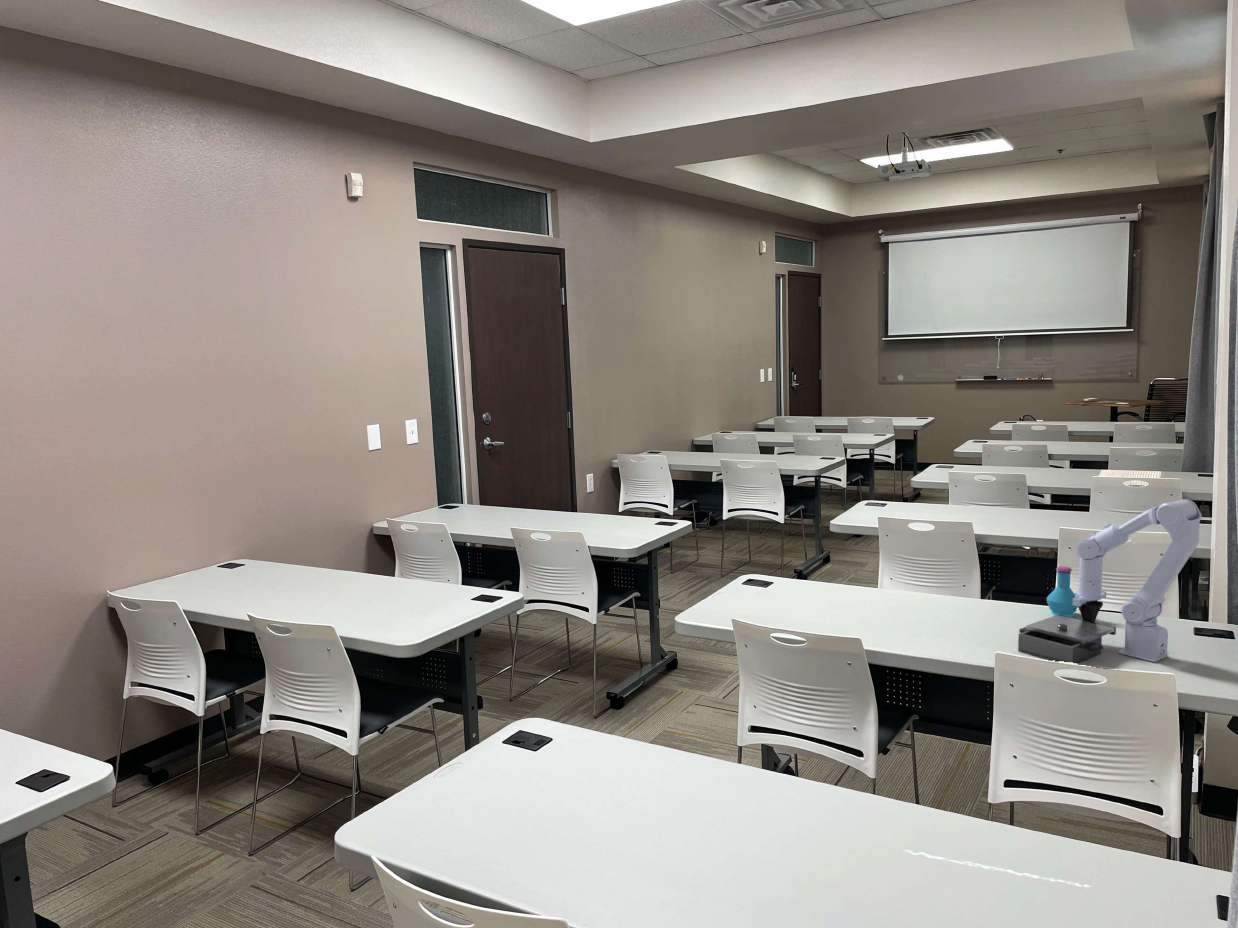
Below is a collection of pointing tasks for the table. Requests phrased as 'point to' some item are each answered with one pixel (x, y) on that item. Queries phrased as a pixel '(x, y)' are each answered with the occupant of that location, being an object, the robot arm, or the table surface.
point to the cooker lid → (1071, 628)
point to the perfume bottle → (1062, 594)
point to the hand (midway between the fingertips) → (1088, 626)
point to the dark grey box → (1057, 647)
